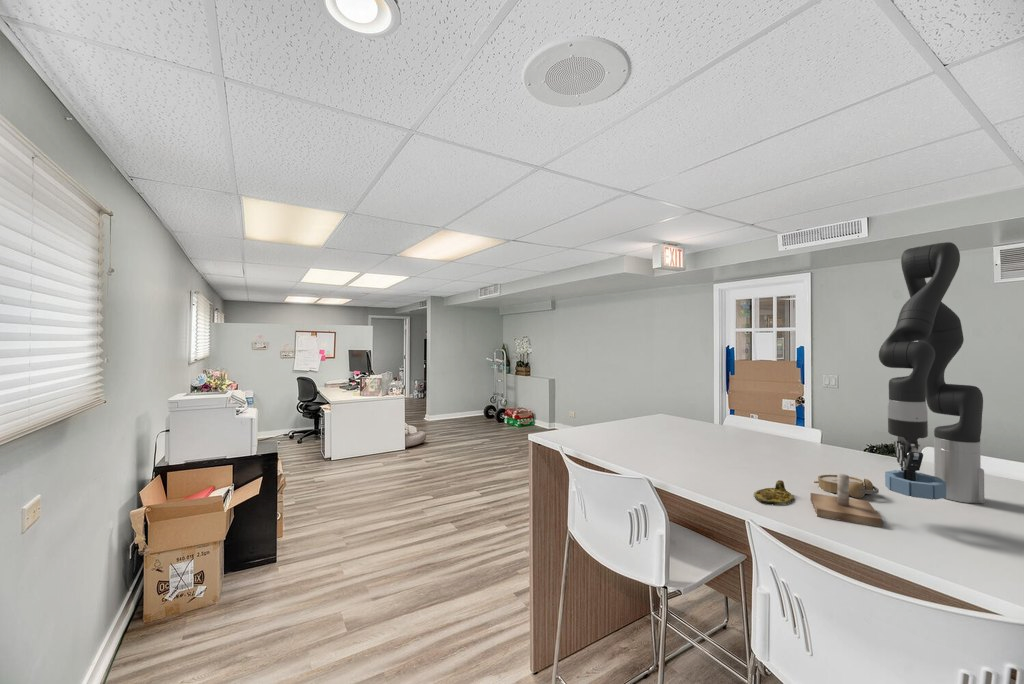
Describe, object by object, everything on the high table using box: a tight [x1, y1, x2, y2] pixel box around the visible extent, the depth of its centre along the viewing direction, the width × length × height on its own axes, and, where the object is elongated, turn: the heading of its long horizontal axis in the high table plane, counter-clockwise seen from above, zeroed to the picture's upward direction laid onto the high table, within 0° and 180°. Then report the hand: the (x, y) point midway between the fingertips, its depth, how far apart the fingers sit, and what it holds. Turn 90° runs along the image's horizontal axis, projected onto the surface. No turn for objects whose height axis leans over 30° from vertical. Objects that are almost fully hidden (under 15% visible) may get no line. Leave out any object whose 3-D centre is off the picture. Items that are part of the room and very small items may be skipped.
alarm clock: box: [813, 474, 880, 499], centre depth 126 cm, size 11×5×15 cm
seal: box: [753, 479, 795, 506], centre depth 121 cm, size 9×5×15 cm
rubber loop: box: [884, 469, 946, 501], centre depth 104 cm, size 10×10×4 cm
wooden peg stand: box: [810, 473, 883, 528], centre depth 111 cm, size 13×13×10 cm
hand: (908, 483), depth 108 cm, fingers closed on rubber loop, 1 cm apart
